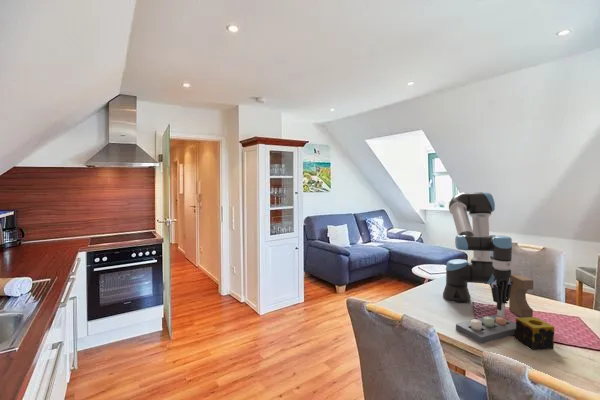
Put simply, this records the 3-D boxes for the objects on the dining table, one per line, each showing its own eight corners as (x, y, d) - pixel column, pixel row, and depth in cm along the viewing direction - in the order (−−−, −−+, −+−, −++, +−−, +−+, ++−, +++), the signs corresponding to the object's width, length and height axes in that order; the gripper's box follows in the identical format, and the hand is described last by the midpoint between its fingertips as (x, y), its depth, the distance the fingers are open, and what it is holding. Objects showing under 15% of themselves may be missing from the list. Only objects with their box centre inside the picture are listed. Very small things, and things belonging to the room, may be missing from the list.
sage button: (481, 325, 151) (481, 317, 150) (487, 323, 152) (488, 315, 152) (489, 329, 146) (489, 321, 146) (496, 327, 148) (496, 319, 148)
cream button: (468, 328, 148) (468, 320, 148) (475, 326, 149) (475, 318, 149) (476, 332, 144) (476, 324, 143) (483, 330, 145) (483, 322, 145)
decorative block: (533, 318, 162) (534, 280, 160) (521, 318, 162) (522, 280, 161) (519, 309, 173) (520, 274, 171) (508, 309, 173) (509, 274, 172)
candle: (513, 338, 142) (514, 317, 142) (534, 337, 143) (535, 316, 142) (532, 351, 132) (532, 328, 131) (554, 349, 133) (555, 326, 132)
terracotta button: (493, 325, 153) (493, 317, 153) (499, 324, 155) (499, 316, 155) (501, 329, 149) (501, 321, 149) (508, 328, 151) (508, 320, 150)
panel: (455, 329, 152) (455, 323, 151) (494, 320, 160) (495, 314, 160) (481, 343, 138) (481, 337, 138) (522, 332, 147) (522, 326, 147)
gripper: (499, 272, 144) (498, 321, 146) (519, 268, 149) (517, 316, 151) (484, 267, 152) (483, 315, 153) (504, 264, 156) (503, 310, 158)
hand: (500, 315), depth 152 cm, fingers closed
